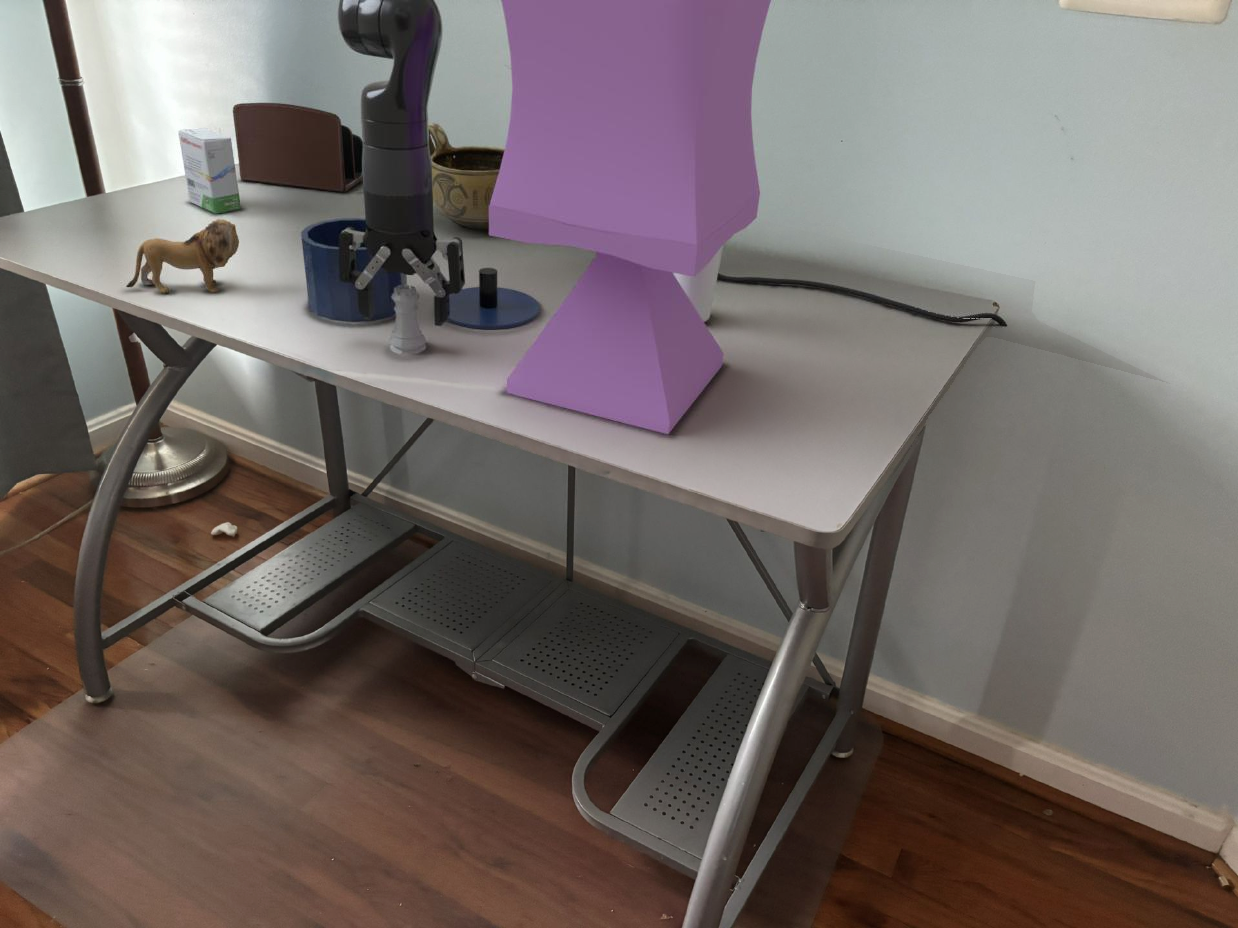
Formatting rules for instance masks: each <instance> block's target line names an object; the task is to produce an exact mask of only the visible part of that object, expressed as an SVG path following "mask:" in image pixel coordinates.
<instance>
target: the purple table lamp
mask: <svg viewBox="0 0 1238 928" xmlns="http://www.w3.org/2000/svg"><path fill="white" fill-rule="evenodd" d="M500 1H501V6H502V11H503V15H504V21H505V27H506V34H507V42H508V48H509V56H510V69H511V89H512V90H511V101H510V114H509V115H510V116H509V124H508V129H507V134H506V135H507V136H506V140H505V141H506V142H505V146H504V148H505V151H504V155H503V159H502V163H501V167H500V171H499V175H498V178H497V181H496V185H495V188H494V192H493V195H492V199H491V202H490V206H489V229H488V236H491V237H496V238H501V239H506V240H510V241H516V242H520V243H526V244H534V245H535V244H536V245H550V246H564V247H565V246H566V247H571V248H578V249H581V250H587V251H591V252H595V257H594V259H593V260H592V261H591V262H590V264H589V265H588V267H587V268H586V270H585V271H584V272H583V274H582V275H581V276H580V278H579V279H578V281H577V282H576V284H574V286H573V287H572V289H571V291H569V293H568V294H567V296H566V297H565V298H564V300H563V301H562V303H561V304H560V305H559V307H558V308H557V310H556V311H555V313H554V314H553V315H552V316H551V318H550V319H549V321H548V322H547V323H546V324H545V326H544V327H543V329H542V330H541V331H540V333H539V334H538V336H537V337H536V339H535V340H534V341H533V343H532V344H531V346H530V347H529V348H528V349H527V351H526V352H525V354H524V355H523V356H522V358H521V360H520V361H519V362H518V364H517V365H516V366H515V368H514V369H513V370H512V372H511V373H510V375H509V376H508V377H507V379H506V393H507V394H508V395H512V396H518V397H521V398H524V399H528V400H531V401H532V400H533V401H537V402H540V403H544V404H548V405H552V406H555V407H560V408H563V409H568V410H571V411H575V412H578V413H584V414H587V415H591V416H595V417H598V418H603V419H607V420H610V421H614V422H619V423H622V424H626V425H629V426H634V427H638V428H642V429H646V430H650V431H653V432H657V433H661V434H665V435H669V434H670V433H671V431H672V430H673V429H674V427H675V426H677V424H678V423H679V421H680V420H681V419H682V418H683V416H684V415H685V414H686V412H687V411H688V410H689V408H690V407H691V406H692V405H693V404H694V402H695V401H696V400H697V398H698V397H699V396H700V395H701V394H702V392H703V391H704V390H705V388H706V387H707V385H709V383H710V382H711V380H712V379H714V377H715V375H716V374H717V373H718V372H719V371H720V369H721V368H722V367H723V362H724V354H725V353H724V351H723V350H722V348H721V346H720V345H719V344H718V342H717V340H716V339H715V337H714V336H713V334H712V333H711V331H710V330H709V328H708V326H707V324H706V323H705V322H703V320H702V318H701V317H700V315H699V314H698V312H697V311H696V309H695V307H694V306H693V304H692V303H691V301H690V300H689V298H688V296H687V295H686V293H685V292H684V290H683V289H682V287H681V285H680V284H679V282H678V281H677V279H676V278H675V276H674V274H673V273H677V274H682V275H687V276H692V277H695V276H696V275H697V274H698V273H699V272H700V271H701V270H702V269H703V268H704V267H705V266H706V265H707V264H708V263H709V262H710V261H711V259H712V258H713V257H714V256H715V254H716V253H717V252H718V250H719V249H720V248H721V247H722V245H723V244H724V245H726V243H727V242H728V241H729V240H730V239H731V238H732V237H733V236H734V235H736V234H737V233H740V232H741V231H743V230H745V229H746V228H748V226H749V225H751V224H752V223H753V222H754V221H755V220H756V219H757V217H758V212H759V211H758V210H759V205H760V204H759V202H760V196H761V189H760V183H759V177H758V169H757V164H756V156H755V145H754V136H753V122H752V104H753V103H752V99H753V98H752V97H753V84H754V77H755V71H756V65H757V59H758V54H759V50H760V45H761V40H762V36H763V31H764V27H765V23H766V20H767V17H768V12H769V10H770V9H769V8H770V5H771V2H772V0H500Z"/></svg>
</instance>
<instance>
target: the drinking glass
mask: <svg viewBox="0 0 1238 928" xmlns="http://www.w3.org/2000/svg"><path fill="white" fill-rule="evenodd" d="M724 249H725V244H723V245H722V247H721V248H720V249H719V250H718V252H717V253H716V254H715V256H714V257H713V258H712V259H711V261H710V262H709V263H708V264H707V265H706V266H705V267H704V268H703V269H702V270H701V271H700V272H699V273H698V274H697V275H696V276H695V277H692V276H687V275H682V274H677V273H673V272H672V273H673V274H674V276H675V278H676V279H677V281H678V282H679V284H680V285H681V287H682V289H683V290H684V292H685V293H686V295H687V296H688V298H689V300H690V301H691V303H692V304H693V306H694V307H695V309H696V311H697V312H698V314H699V315H700V317H701V318H702V320H703V322H704V323H705V322H708V320H709V319H710V317H711V313H712V307H713V306H712V305H713V300H714V295H715V292H716V291H715V290H716V285H717V281H718V279H717V277H718V273H719V272H720V267H721V262H722V258H723V253H724Z"/></svg>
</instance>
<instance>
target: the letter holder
mask: <svg viewBox="0 0 1238 928" xmlns="http://www.w3.org/2000/svg"><path fill="white" fill-rule="evenodd" d="M232 117H233V124H234V125H233V126H234V133H235V141H236V149H237V159H238V168H239V178H240V180H241V181H242V182H250V183H251V182H252V183H260V184H268V185H269V184H270V185H278V186H285V187H286V186H287V187H292V188H293V187H294V188H301V189H309V190H318V191H326V192H335V193H342V194H345V193H346V192H348V191H349V190H351V189H352V188H354V187H356V186H357V185H358V184H360V183H362V152H363V138H362V137H360V136H359V135H357V134H354V133H353V132H352V130H351V128H350V127H349V126H347V125H343V124H342V121H341V120H342V119H341V118H340V116H339V115H337V114H335V113H333V112H330V111H325V110H322V109H318V108H314V107H308V106H303V105H297V104H296V105H295V104H290V103H280V102H244V103H243V102H241V103H237V104H234V105H233V107H232Z"/></svg>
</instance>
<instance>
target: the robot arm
mask: <svg viewBox="0 0 1238 928" xmlns="http://www.w3.org/2000/svg"><path fill="white" fill-rule="evenodd" d="M337 25H338V29H339V33H340V35H341V38H342V40H343V41H344V43H345V44H346V45H347V46H348V47H349V49H351V50H352V51H354V52H356V53H358V54H361V55H365V56H369V57H375V58H382V59H388V60H393V63H392V69H391V73H390V76H389V79H387V80H381V81H374V82H371V83H367V85H365V86H364V87H363V89H361V92H360V102H359V103H360V120H361V135H362V137H361V139H362V141H363V152H362V181H361V183H362V189H363V201H364V218H365V219H366V232H359V231H355V229H354V228H352V227H348V228H346V229H345V230H344V231H343V232H342V233H341V234H340V235H339V278H340V280H341V281H342V282H343V283H347V282H348V283H351V284H353V285H354V286H355V287H356V288H357V294H358V307H359V311H360V313H361V314H364V319H371V318H372V317H373V316H374V314H375V300H374V285H373V284H371V280H372V278H373V277H374V276H375V275H376V273H377V272H378V271H379V270H380V268H382V269H384V270H385V271H387V273H399V272H400V273H403V274H406V275H407V276H414V275H415V274H417V275H418V276H419V278H420V279H421V280H422V282H423V283H424V284H427V285H428V286H429V288H430V289H431V291H432V292H433V293H434V296H433V310H434V311H433V312H434V313H433V314H434V315H433V316H434V326H436V327H442V326H443V324H444V323H446V322H447V319H448V317H449V314H450V300H449V294H452V293H454V294H457V293H459V292H460V291H461V289H464V286H465V285H466V275H465V262H464V261H465V260H464V249H463V240H462V238H460V237H459V236H455V237H453V238H452V239H438V237H437V236H436V233H435V224H434V220H435V219H434V202H433V187H432V162H431V156H430V150H429V130H428V124H429V109H428V108H429V101H430V95H431V93H432V92H431V91H432V87H433V81H434V77H435V73H436V72H435V71H436V67H437V63H438V60H439V56H440V52H441V47H442V42H443V41H442V40H443V30H444V28H443V20H442V15H441V12H440V9H439V6H438V4H437V2H436V1H435V0H339V1H338V6H337ZM361 243H364V245H365V247H366V248H367V249H368V251H369V252H370V253H371V255H372V256H373V259H372V260H371V262H370V263H369V264H368V266H367V267H366V268H365V269H364V271H363V272H362V273H361V272H359V271H357V270H356V250H357V249H358V248H359V247H360V245H361ZM437 251H439V252H440V253H441V256H442V258H443V259H444V260H446V261H447V267H448V276H449V277H448V279H449V280H448V279H447V278H446V276H445V275H444V274H443V272H442V271H441V267H440V266H439V264H438V263H437V262H436V260H435V259H434V258H433V255H434V254H435V253H436V252H437ZM717 280H719V281H724V282H729V283H741V284H742V283H756V284H757V283H758V284H769V285H786V286H787V285H791V286H801V287H803V286H804V287H811V288H817V289H824V290H829V291H834V292H839V293H843V294H847V295H852V296H854V297H855V296H857V297H860V298H864V299H867V300H870V301H873V302H877V303H880V304H884V305H887V306H889V307H892V308H893V307H894V308H896V309H900V310H903V311H907V312H909V313H910V312H911V313H914V314H917V315H920V316H923V317H927V318H931V319H933V320H938V321H942V322H948V323H968V322H973V321H974V322H975V321H979V320H981V319H980V318H992V319H991V320H992V321H994V322H996V323H997V324H998V325H999V326H1000V327H1008V324H1007V322H1006V321H1005V320H1004V318H1002V317H1001V316H1000V315H997V314H995V313H992V312H982V313H976V314H971V315H965V316H964V315H963V316H953V317H951V316H952V315H946V314H942V313H938V312H933V311H930V312H928V311H929V310H926V309H923V308H920V307H917V306H913V305H910V304H907V303H903V302H899V301H896V300H893V299H890V298H886V297H883V296H879V295H876V294H872V293H869V292H865V291H861V290H857V289H853V288H849V287H845V286H841V285H835V284H830V283H824V282H819V281H813V280H806V279H805V280H804V279H795V278H794V279H793V278H792V279H791V278H773V277H760V276H730V275H725V274H722V273H719V272H718V277H717ZM915 307H916V308H915ZM922 309H923V310H922ZM936 313H937V314H936ZM945 315H946V316H945ZM957 317H959V318H957ZM963 318H970V319H963ZM971 318H975V319H971ZM976 318H979V319H976Z"/></svg>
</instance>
